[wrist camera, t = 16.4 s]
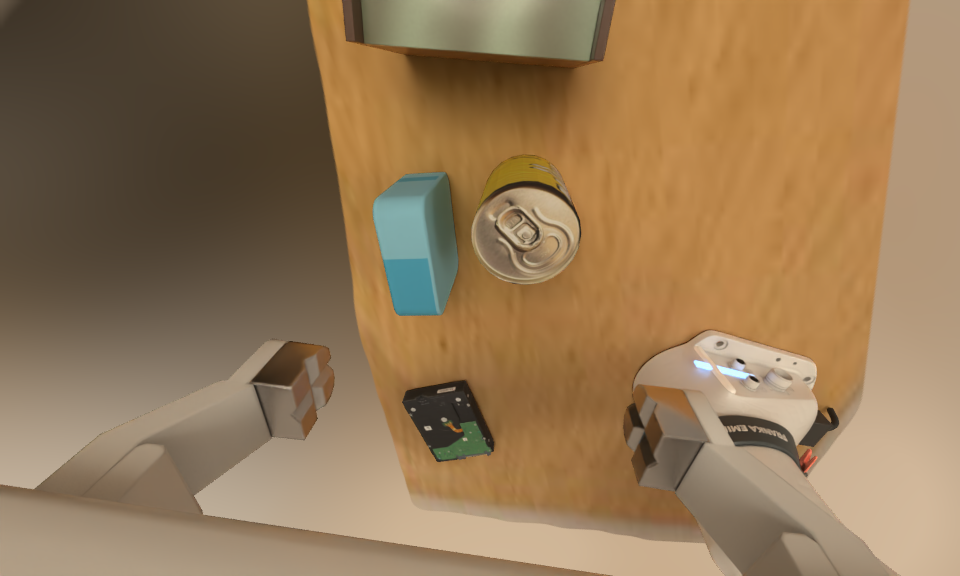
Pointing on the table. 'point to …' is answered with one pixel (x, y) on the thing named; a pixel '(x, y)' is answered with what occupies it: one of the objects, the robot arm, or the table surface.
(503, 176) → the beverage can
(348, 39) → the step shelf
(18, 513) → the robot arm
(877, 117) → the table surface
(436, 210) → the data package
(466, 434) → the disk drive
